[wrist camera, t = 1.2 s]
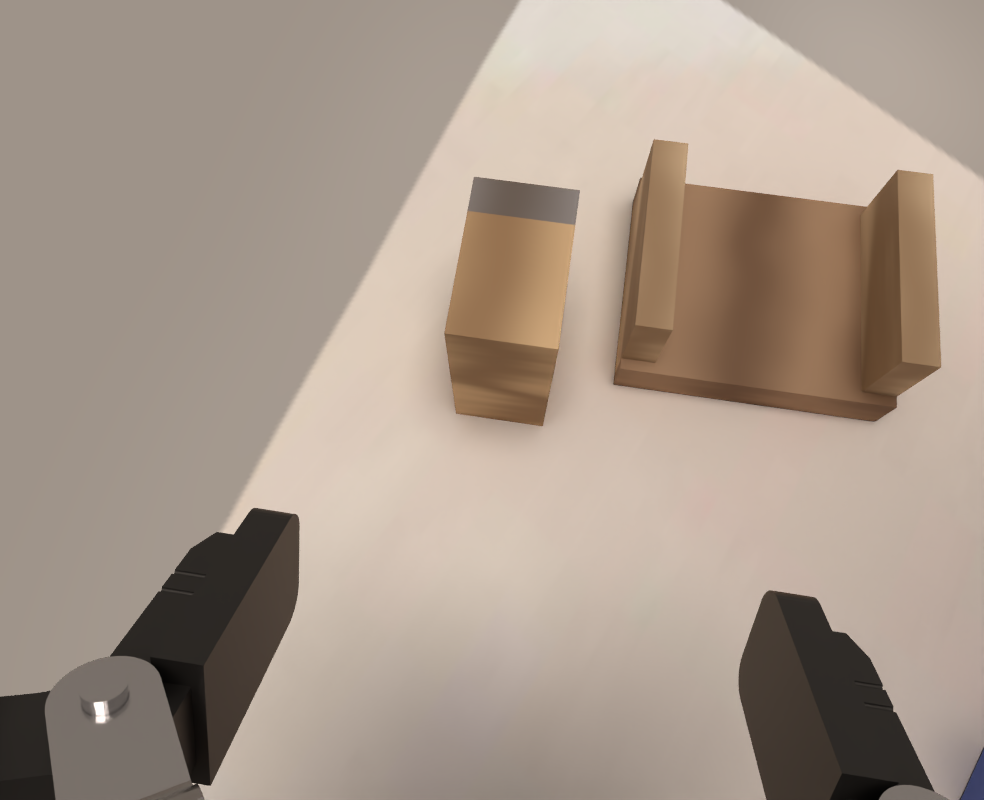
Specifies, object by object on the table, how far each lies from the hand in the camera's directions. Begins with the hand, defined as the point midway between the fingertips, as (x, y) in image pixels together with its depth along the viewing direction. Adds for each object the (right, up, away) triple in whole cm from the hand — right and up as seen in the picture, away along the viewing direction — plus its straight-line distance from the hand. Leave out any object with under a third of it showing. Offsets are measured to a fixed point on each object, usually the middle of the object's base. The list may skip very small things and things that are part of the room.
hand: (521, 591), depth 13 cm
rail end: (0, +5, +23) cm, 23 cm away
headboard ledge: (+12, +8, +24) cm, 28 cm away
